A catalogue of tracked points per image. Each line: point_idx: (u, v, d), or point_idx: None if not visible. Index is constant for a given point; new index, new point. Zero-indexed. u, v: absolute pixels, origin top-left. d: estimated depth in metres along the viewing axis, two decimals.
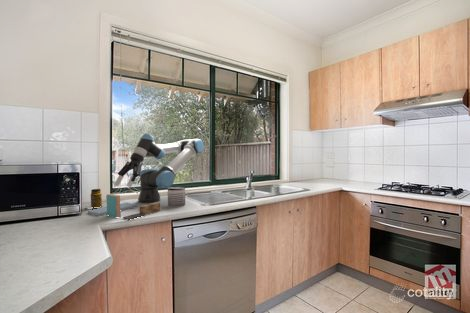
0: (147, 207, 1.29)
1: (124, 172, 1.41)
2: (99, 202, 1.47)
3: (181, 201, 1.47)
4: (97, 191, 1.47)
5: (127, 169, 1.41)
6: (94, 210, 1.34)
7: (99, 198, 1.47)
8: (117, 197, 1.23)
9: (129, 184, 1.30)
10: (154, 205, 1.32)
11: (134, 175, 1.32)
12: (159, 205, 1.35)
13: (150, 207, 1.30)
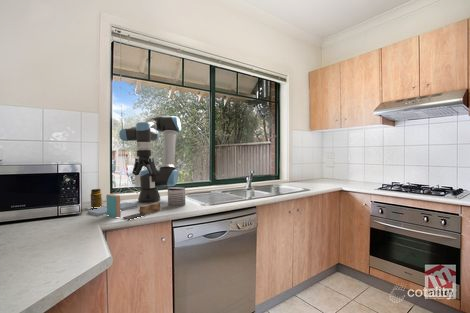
0: (147, 207, 1.29)
1: (138, 170, 1.32)
2: (99, 202, 1.47)
3: (181, 201, 1.47)
4: (97, 191, 1.47)
5: (140, 167, 1.31)
6: (94, 210, 1.34)
7: (99, 198, 1.47)
8: (117, 197, 1.23)
9: (152, 185, 1.25)
10: (154, 205, 1.32)
11: (152, 175, 1.24)
12: (159, 205, 1.35)
13: (150, 207, 1.30)
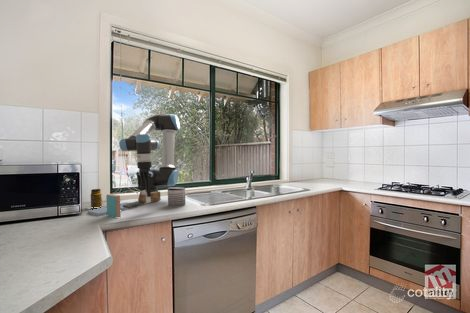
0: None
1: (143, 184, 1.30)
2: (99, 202, 1.47)
3: (181, 201, 1.47)
4: (97, 191, 1.47)
5: (143, 180, 1.30)
6: (94, 210, 1.34)
7: (99, 198, 1.47)
8: (117, 197, 1.23)
9: (148, 200, 1.28)
10: (154, 194, 1.33)
11: (147, 191, 1.27)
12: (158, 194, 1.35)
13: None
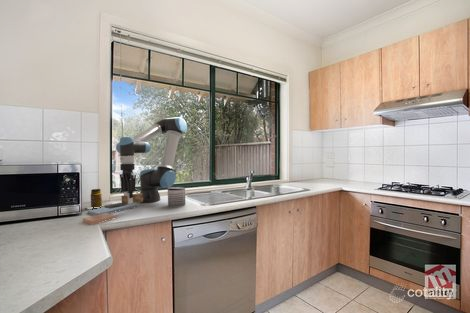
0: None
1: (126, 186, 1.34)
2: (99, 202, 1.47)
3: (181, 201, 1.47)
4: (97, 191, 1.47)
5: (126, 181, 1.34)
6: (94, 210, 1.34)
7: (99, 198, 1.47)
8: (94, 223, 1.13)
9: (130, 201, 1.32)
10: (136, 195, 1.36)
11: None
12: (141, 196, 1.39)
13: None
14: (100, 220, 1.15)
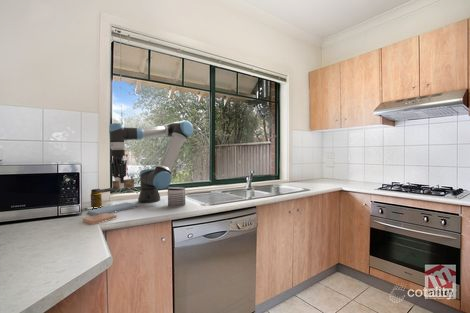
0: None
1: (117, 171, 1.37)
2: (99, 202, 1.47)
3: (181, 201, 1.47)
4: None
5: (117, 167, 1.37)
6: (94, 210, 1.34)
7: (99, 198, 1.47)
8: (94, 223, 1.13)
9: (121, 186, 1.35)
10: (127, 181, 1.40)
11: (120, 177, 1.34)
12: (132, 181, 1.42)
13: None
14: (100, 220, 1.15)
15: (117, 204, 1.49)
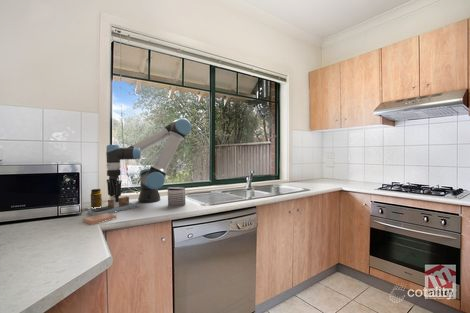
0: None
1: (112, 190, 1.42)
2: (99, 202, 1.47)
3: (181, 201, 1.47)
4: (97, 191, 1.47)
5: (112, 186, 1.42)
6: None
7: (99, 198, 1.47)
8: (94, 223, 1.13)
9: (116, 205, 1.40)
10: (122, 199, 1.44)
11: (115, 196, 1.39)
12: (127, 199, 1.47)
13: None
14: (100, 220, 1.15)
15: None
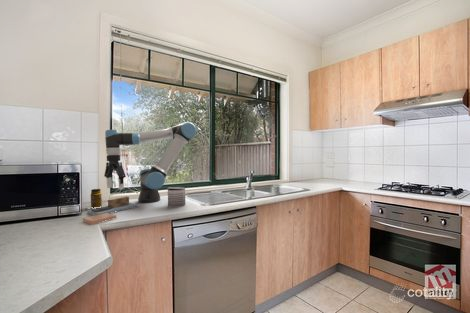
0: (115, 201, 1.40)
1: (109, 173, 1.44)
2: (99, 202, 1.47)
3: (181, 201, 1.47)
4: (97, 191, 1.47)
5: (110, 170, 1.43)
6: None
7: (99, 198, 1.47)
8: (94, 223, 1.13)
9: (121, 187, 1.38)
10: (122, 199, 1.44)
11: (120, 178, 1.36)
12: (127, 199, 1.47)
13: (118, 201, 1.42)
14: (100, 220, 1.15)
15: None
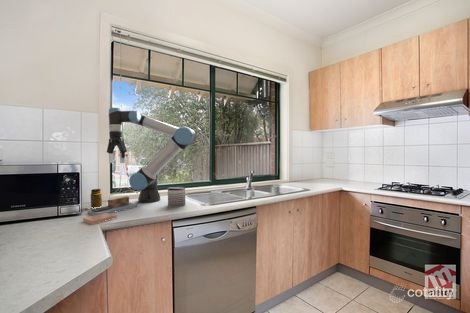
0: (115, 201, 1.40)
1: (112, 149, 1.55)
2: (99, 202, 1.47)
3: (181, 201, 1.47)
4: (97, 191, 1.47)
5: (113, 146, 1.54)
6: None
7: (99, 198, 1.47)
8: (94, 223, 1.13)
9: (122, 161, 1.48)
10: (122, 199, 1.44)
11: (122, 152, 1.47)
12: (127, 199, 1.47)
13: (118, 201, 1.42)
14: (100, 220, 1.15)
15: None
